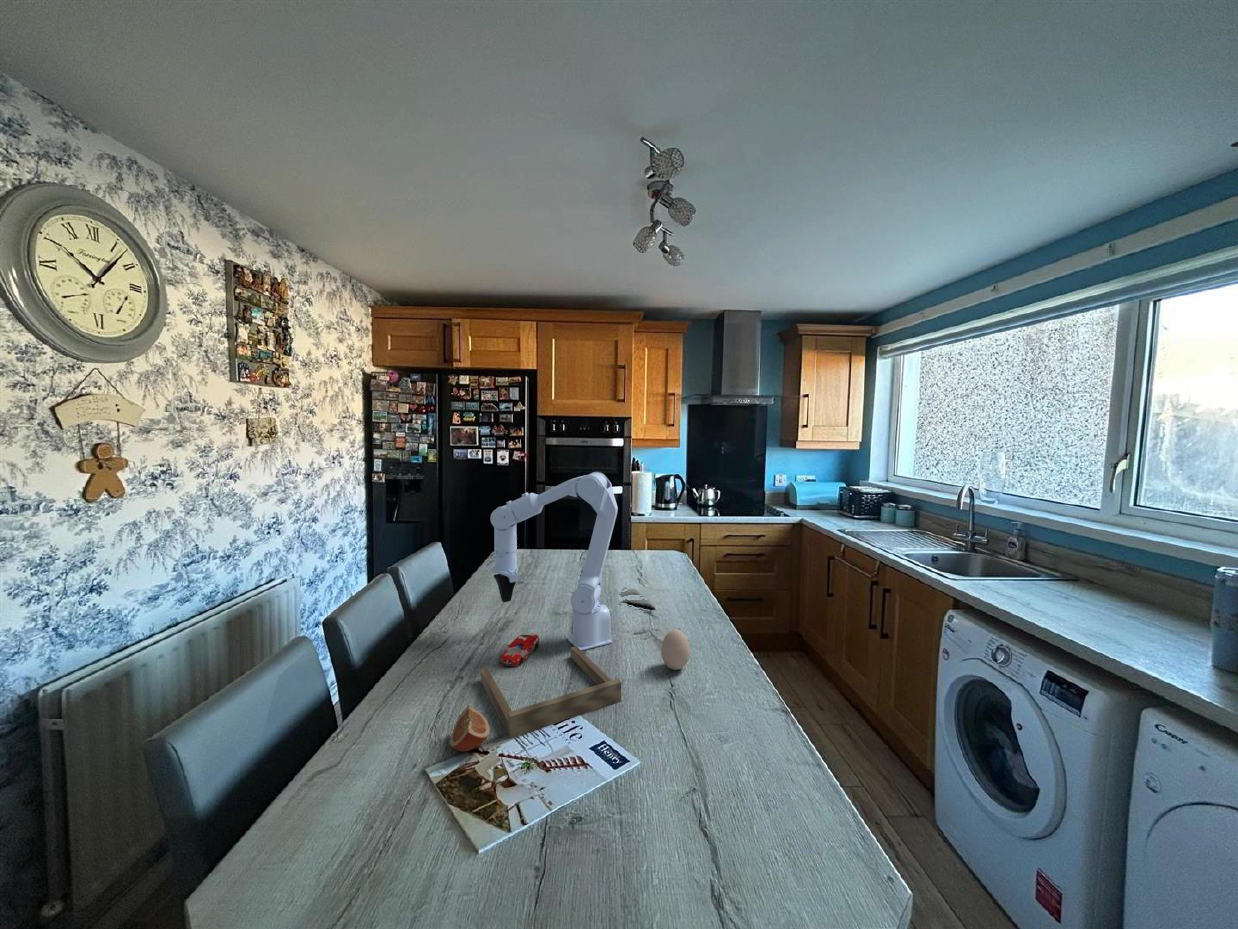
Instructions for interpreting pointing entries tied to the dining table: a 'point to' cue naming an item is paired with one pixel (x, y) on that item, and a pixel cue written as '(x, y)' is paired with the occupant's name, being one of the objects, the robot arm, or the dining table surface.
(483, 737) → the fruit slice
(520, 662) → the race car
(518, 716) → the garage bay
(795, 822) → the dining table surface
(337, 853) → the dining table surface
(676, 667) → the egg
